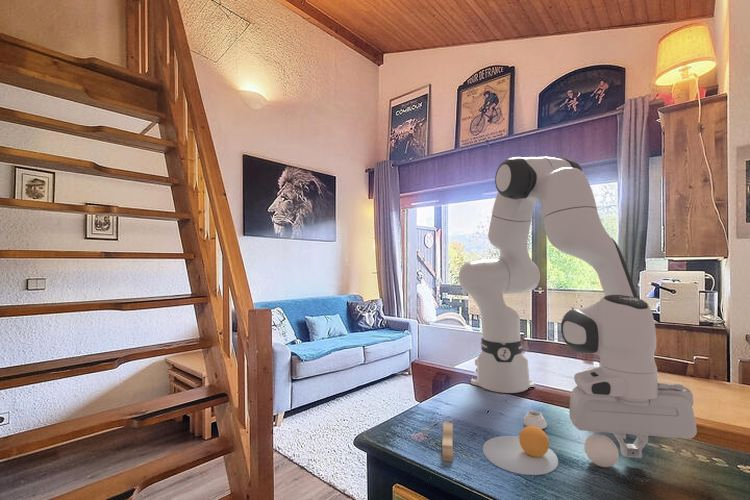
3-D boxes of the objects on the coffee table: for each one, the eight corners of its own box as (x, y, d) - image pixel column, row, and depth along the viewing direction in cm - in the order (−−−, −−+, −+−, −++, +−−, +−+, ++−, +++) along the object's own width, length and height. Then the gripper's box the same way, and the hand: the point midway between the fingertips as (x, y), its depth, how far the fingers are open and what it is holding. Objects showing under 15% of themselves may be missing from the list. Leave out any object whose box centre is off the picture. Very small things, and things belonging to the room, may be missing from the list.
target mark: (480, 434, 80) (480, 433, 80) (547, 439, 77) (547, 438, 77) (486, 470, 67) (486, 469, 67) (568, 479, 64) (568, 477, 64)
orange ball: (552, 440, 73) (529, 453, 74) (534, 416, 74) (511, 429, 75) (558, 453, 68) (533, 467, 69) (539, 427, 69) (514, 441, 70)
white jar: (524, 419, 88) (522, 428, 83) (524, 407, 88) (522, 415, 83) (547, 423, 85) (546, 432, 81) (546, 411, 86) (546, 419, 81)
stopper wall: (443, 435, 80) (443, 422, 80) (452, 436, 80) (452, 422, 80) (442, 460, 70) (442, 445, 70) (453, 461, 70) (452, 446, 70)
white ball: (613, 432, 70) (600, 454, 71) (586, 423, 70) (574, 446, 71) (630, 454, 64) (616, 478, 66) (601, 445, 64) (588, 469, 66)
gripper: (681, 379, 69) (684, 451, 69) (565, 374, 73) (567, 442, 73) (703, 391, 63) (707, 471, 63) (576, 384, 67) (578, 459, 67)
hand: (631, 455), depth 68 cm, fingers closed
